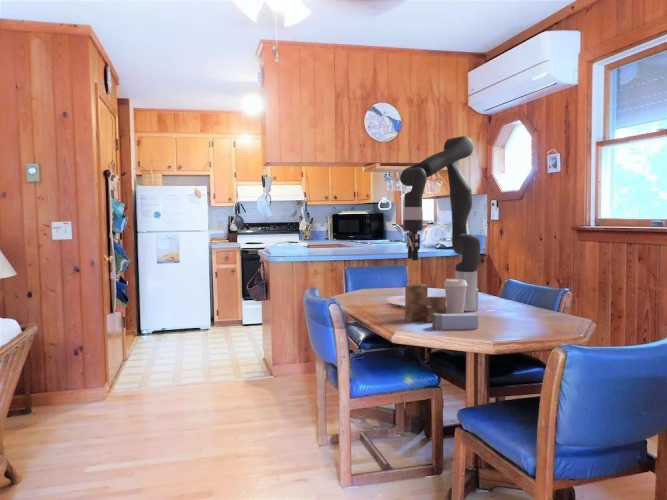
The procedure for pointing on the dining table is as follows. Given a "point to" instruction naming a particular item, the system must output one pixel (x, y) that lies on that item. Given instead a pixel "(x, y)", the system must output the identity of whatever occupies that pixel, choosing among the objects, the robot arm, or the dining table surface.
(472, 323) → the grey rectangular bar
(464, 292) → the coffee cup
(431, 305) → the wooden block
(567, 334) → the dining table surface
